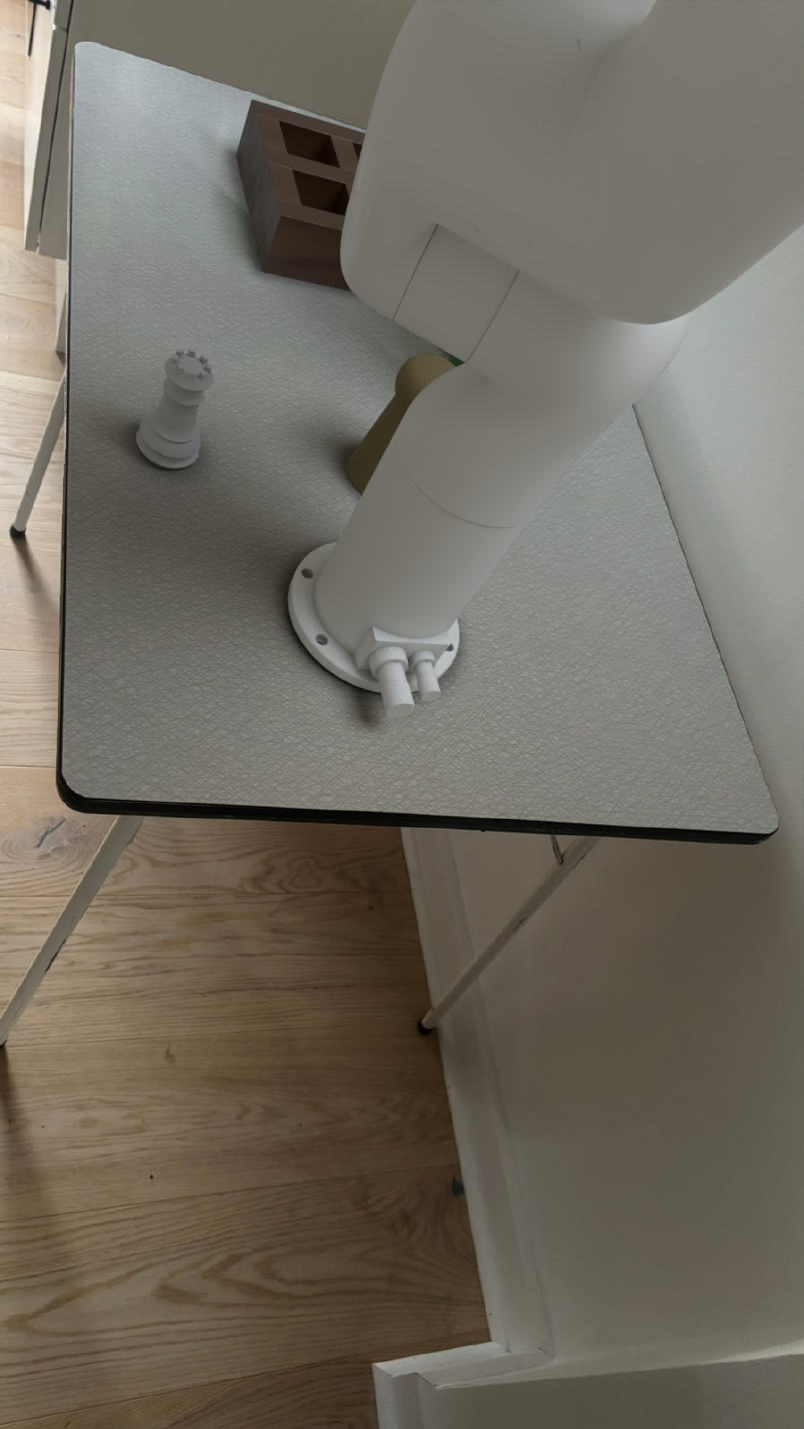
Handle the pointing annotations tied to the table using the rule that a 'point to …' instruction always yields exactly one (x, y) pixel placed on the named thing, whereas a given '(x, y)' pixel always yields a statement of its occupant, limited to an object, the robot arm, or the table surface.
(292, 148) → the divided compartment box
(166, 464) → the rook chess piece
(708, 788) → the table surface
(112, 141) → the table surface
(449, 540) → the robot arm
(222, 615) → the table surface
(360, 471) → the olive flared vase
